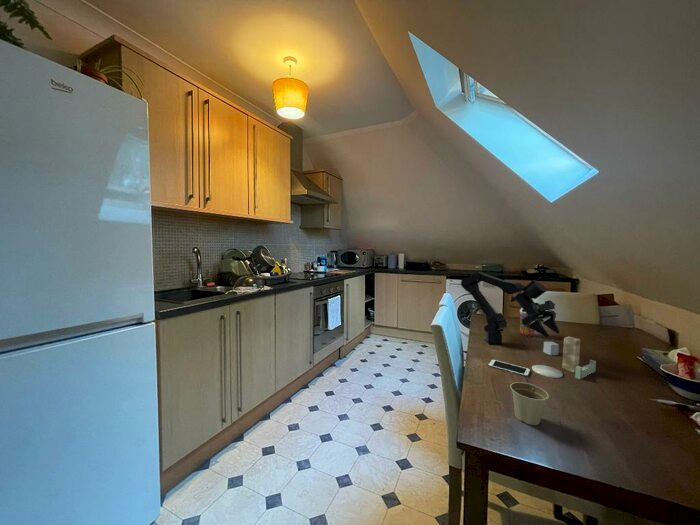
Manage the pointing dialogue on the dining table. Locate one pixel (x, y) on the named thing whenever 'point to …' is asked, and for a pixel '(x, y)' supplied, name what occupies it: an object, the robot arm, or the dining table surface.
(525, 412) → the flower pot
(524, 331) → the smoothie
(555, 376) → the coaster
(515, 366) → the cell phone
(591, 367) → the fence
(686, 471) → the dining table surface
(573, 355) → the beech block
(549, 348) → the grey block
